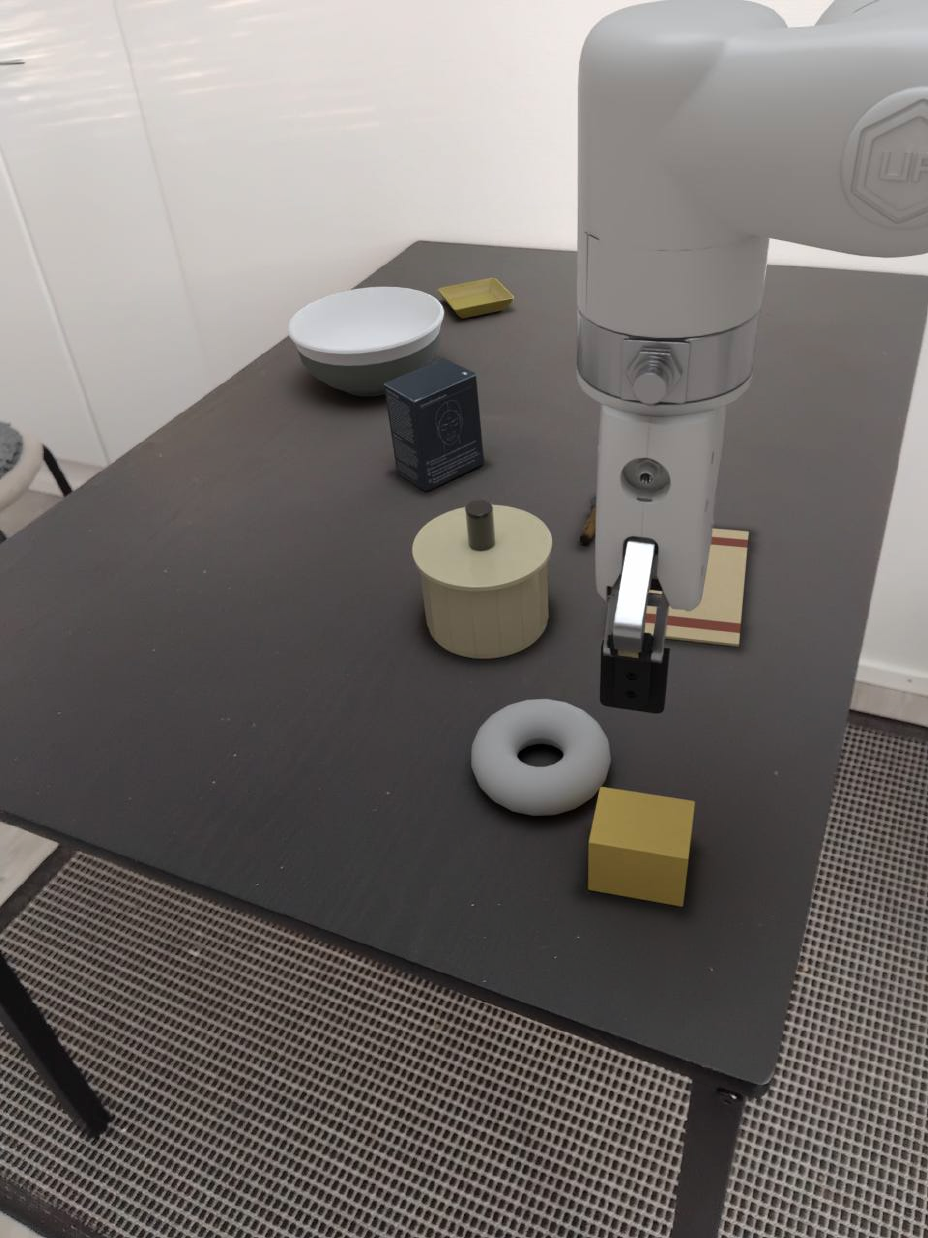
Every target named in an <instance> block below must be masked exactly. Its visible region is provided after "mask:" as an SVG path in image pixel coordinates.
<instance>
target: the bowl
mask: <svg viewBox="0 0 928 1238" xmlns="http://www.w3.org/2000/svg"><path fill="white" fill-rule="evenodd" d="M444 316H445V309H444V307H443V305H442V304H441V302H440V301H439V300H438V299H437V298H436V297H434V296H433V295H431V294H429V293H426V292H425V291H421V290H418V289H412V288H407V287H400V286H399V287H398V286H369V287H361V288H355V289H349V290H344V291H339V292H336V293H332V294H329V295H327V296H323V297H320V298H317V299H316V300H313V301H312V302H310V303H308V304H306V305H304V306H303V307H301V308H300V309H299V310H297V311H296V312H295V313H294V314H293V315H292V316H291V318H290V319H289V322H288V324H287V333H288V336H289V338H290V339H291V341H292V342H293V343H294V345H295V347H296V350H297V352H298V355H299V358H300V361H301V363H302V365H303V366H304V367H305V368H306V369H307V371H308V372H309V373H310V374H311V375H312V376H313V377H314V378H315V379H316V380H319V381H320V382H321V383H324V384H325V385H328V386H329V387H331V388H334V389H337V390H339V391H342V392H346V393H347V394H350V395H353V396H356V397H366V398H367V397H368V398H369V397H377V396H378V397H379V396H384V395H385V389H384V383H386V382H388V381H391V380H393V379H396V378H398V377H400V376H403V375H405V374H408V373H410V372H412V371H415V370H417V369H420V368H422V367H424V366H427V365H429V364H432V361H433V360H434V358H435V356H436V354H437V352H438V349H439V347H440V342H441V325H442V322H443V320H444Z"/></svg>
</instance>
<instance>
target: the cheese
mask: <svg viewBox="0 0 928 1238" xmlns="http://www.w3.org/2000/svg"><path fill="white" fill-rule="evenodd" d="M695 808H696V801H694V800H690V799H689V800H688V799H683V798H678V797H677V798H675V797H670V796H662V795H656V794H651V793H644V792H638V791H631V790H624V789H619V788H612V787H606V786H601V787H600V788H599V790H598V795H597V800H596V804H595V810H594V815H593V818H592V824H591V828H590V833H589V838H588V857H587V858H588V859H587V861H588V865H587V867H588V868H587V869H588V871H587V873H588V874H587V890H589V891H593V892H599V893H602V894H603V893H605V894H609V895H615V896H620V897H626V898H632V899H637V900H643V901H647V902H654V903H659V904H664V905H670V906H675V907H680V908H682V907H684V901H685V894H686V893H685V892H686V883H687V877H688V869H689V868H688V867H689V858H690V850H691V842H692V833H693V824H694V815H695Z"/></svg>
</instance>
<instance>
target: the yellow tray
mask: <svg viewBox="0 0 928 1238" xmlns="http://www.w3.org/2000/svg"><path fill="white" fill-rule="evenodd" d="M437 292H438V294H439V295H440V296H441V298H442V299H444V301H445V302H446V303H447V304H448V305H449V307H450V308H451V309H452V310H453V312H454V313H455V314H456V315H457V316H458V318H459V317H460V318H461V319H468V318H473V317H477V316H482V315H486V314H491V313H497V312H502V311H503V310H505V309H507V308H508V307H509V306H510V304H511V303H512V302H513V301H514V299H515V297H514V295H513V294H512V293H511V292H510V291H509V290H508V289H507V288H506V287H505V286H504V285H503V284H502V283H501V282H500V281H499V280H498V279H497V278H496V277H489V278H483V279H479V280H478V279H477V280H473V281H468V282H464V283H458V284H454V285H452V284H451V285H447V286H443V287H440V288H438V289H437Z"/></svg>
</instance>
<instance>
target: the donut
mask: <svg viewBox="0 0 928 1238" xmlns="http://www.w3.org/2000/svg"><path fill="white" fill-rule="evenodd" d="M533 745H548V746H551V747H554V748H555V749H556V748H557V749H559V750H560V751H561V752H562V754H563V756H562V758H561V759H560V760H558V761H557V762H555V763H554V764H550V765H546V766H534V765H529V764H527V763H525V762H523V761H521V759H519V757H518V755H519V753H520V752H521V751H523V750H524V749H526V748H527V747H531V746H533ZM470 749H471V751H470V753H471V754H470V756H471V757H470V761H471V762H470V767H471V769H472V772H473V774H474V778H475V779H476V781H477V784H478V786H479V788H480V789H481V790H482V791H483V792H484V793H485V794H486V795H487V796H488V797H489V798H490V799H491V800H492V801H493V802H495V803H496V804H498V805H500V806H502V807H504V808H505V809H507V810H509V811H510V812H513V813H518V814H522V815H528V816H532V817H538V816H542V817H543V816H556V815H561V814H563V813H567V812H569V811H573V810H576V809H578V807H580V806H582V805H584V804H585V803H586V802H588V801H589V800H591V799H592V798H593V797H594V796H595V795H596V794H597V792H599V790H600V787H603V785H604V784H605V782H606V780H607V776H608V773H609V770H610V765H611V762H612V757H611V749H610V743H609V739H608V737H607V735H606V733H605V731H604V730H603V729H602V727H601V725H600V724H599V722H598V721H597V720H596V719H595V718H594V717H592V716H591V715H590V714H588V713H587V712H586V711H585V710H584V709H582V708H579V707H577V706H575V705H572V704H570V703H568V702H566V701H562V700H561V701H560V700H554V699H550V698H539V699H538V698H537V699H526V700H522V701H519V702H514V703H512V704H508V705H506V706H504V707H503V708H501V709H499V710H498V711H496V712H494V713H492V714H491V715H490V717H488V718H487V719H486V720H485V721H484V722H483V724H482V725H480V727H479V729H478V730H477V732H476V734H475V737H474V739H473V742H472V744H471V748H470Z"/></svg>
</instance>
